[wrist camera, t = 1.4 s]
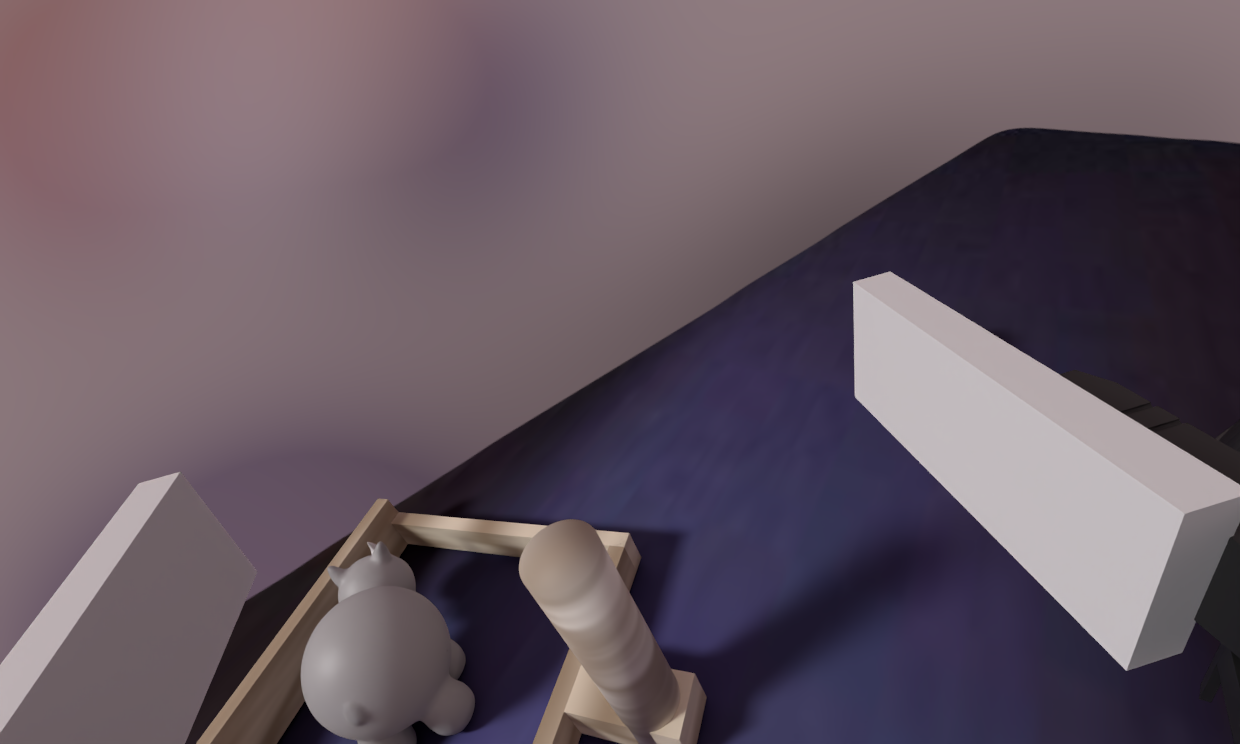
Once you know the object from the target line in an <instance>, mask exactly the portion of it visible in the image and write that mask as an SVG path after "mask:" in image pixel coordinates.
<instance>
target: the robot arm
mask: <svg viewBox="0 0 1240 744" xmlns="http://www.w3.org/2000/svg"><path fill="white" fill-rule="evenodd" d="M853 296H854V368H855V397H856V398H857V399H858V400H859V401H860V402H861V403H862V404H863V405H864V406H865V408H866V409H867V410H868V411H869V412H870V413H871V414H872V415H873V416H874V417H875V418H876V419H877V420H878V421H879V422H880V423H881V424H882V425H883V426H884V427H885V428H886V429H887V430H888V431H889V432H890V433H891V434H892V435H893V436H894V437H895V438H896V439H897V440H898V441H899V442H900V443H901V444H902V445H903V446H904V447H905V448H906V449H907V450H908V451H909V452H910V453H911V454H912V455H913V456H914V457H915V458H916V459H917V460H918V461H919V462H920V463H921V464H922V465H923V466H924V467H925V468H926V469H927V470H928V471H929V472H930V473H931V474H932V475H933V476H934V477H935V478H936V479H937V480H938V481H939V482H940V483H941V484H942V485H943V486H944V487H945V488H946V489H947V490H948V491H949V492H950V493H951V494H952V495H953V496H954V497H955V498H956V499H957V500H958V501H959V502H960V503H961V504H962V505H963V506H964V507H965V508H966V509H967V510H968V511H969V512H970V513H971V514H972V515H973V516H974V517H975V518H976V520H977V521H978V522H979V523H980V524H981V525H982V526H983V527H984V528H985V529H986V530H987V531H988V532H989V533H990V534H991V535H992V536H993V537H994V538H995V539H996V540H997V541H998V542H999V543H1000V544H1001V545H1002V546H1003V547H1004V548H1005V549H1006V550H1007V551H1008V552H1009V553H1010V554H1011V555H1012V556H1013V557H1014V558H1015V559H1016V560H1017V561H1018V562H1019V563H1020V564H1021V565H1022V566H1023V567H1024V568H1025V569H1026V570H1027V571H1028V572H1029V573H1030V574H1031V575H1032V576H1033V577H1034V578H1035V579H1036V580H1037V581H1038V582H1039V583H1040V584H1041V585H1042V586H1043V587H1044V588H1045V589H1046V590H1047V591H1048V592H1049V593H1050V594H1051V595H1052V596H1053V597H1054V598H1055V599H1056V600H1057V601H1058V602H1059V603H1060V604H1061V605H1062V606H1063V607H1064V608H1065V609H1066V610H1067V611H1068V612H1069V613H1070V614H1071V615H1072V616H1073V617H1074V618H1075V619H1076V620H1077V621H1078V622H1079V623H1080V624H1081V625H1082V626H1083V627H1084V628H1085V629H1086V631H1087V632H1088V633H1089V634H1090V635H1091V636H1092V637H1093V638H1094V639H1095V640H1096V641H1097V642H1098V643H1099V644H1100V645H1101V646H1102V647H1103V648H1104V649H1105V650H1106V651H1107V652H1108V653H1109V654H1110V655H1111V656H1112V657H1113V658H1114V659H1115V660H1116V661H1117V662H1118V663H1119V664H1120V665H1121V666H1122V667H1123V668H1124V669H1125V670H1126V671H1128V670H1131V669H1134V668H1137V667H1140V666H1143V665H1146V664H1149V663H1152V662H1155V661H1158V660H1161V659H1164V658H1167V657H1170V656H1173V655H1177V654H1180V653H1182V652H1183V650H1184V647H1185V645H1186V643H1187V641H1188V638H1189V636H1190V634H1191V632H1192V629H1193V627H1194V625H1195V622H1197V623H1198V624H1200V625H1201V626H1202V627H1203V628H1204V629H1205V630H1207V631H1208V632H1209V633H1210V634H1211V635H1213V636H1214V637H1215V638H1216V639H1217V640H1219V641H1220V642H1221V644H1220V646H1219V648H1218V650H1217V652H1216V654H1215V656H1214V658H1213V660H1212V662H1211V664H1210V666H1209V668H1208V670H1207V672H1206V674H1205V677H1204V679H1203V681H1202V683H1201V688H1200V696H1199V699H1201V700H1205V701H1208V702H1212V700H1213V698H1214V696H1215V694H1216V692H1217V690H1218V688H1219V686H1220V684H1221V685H1222V690H1223V694H1224V699H1225V704H1226V708H1227V713H1228V717H1229V722H1230V727H1231V731H1232V736H1233V740H1234V744H1240V420H1239V421H1238V422H1236V423H1235V424H1234V425H1233V426H1231V427H1230V428H1228V429H1227V430H1226V431H1224V432H1223V433H1221V434H1220V435H1219V436H1218V437H1216V438H1213V437H1211V436H1209V435H1207V434H1206V433H1204V432H1202V431H1200V430H1199V429H1197V428H1195V427H1193V426H1192V425H1190V424H1188V423H1185V424H1182V423H1181V422H1180V421H1179V418H1177V417H1176V416H1174V415H1172V414H1170V413H1169V412H1167V411H1165V410H1163V409H1162V408H1160V407H1158V406H1156V407H1152V406H1151V402H1149V401H1148V400H1146V399H1144V398H1142V397H1140V396H1139V395H1137V394H1135V393H1133V392H1132V391H1130V390H1128V389H1126V388H1125V387H1123V386H1121V385H1119V384H1118V383H1115V382H1112V381H1109V380H1106V379H1102V378H1099V377H1096V376H1093V375H1090V374H1086V373H1083V372H1080V371H1077V370H1073V371H1070V372H1066V373H1063V374H1057V373H1056V372H1054V371H1052V370H1051V369H1049V368H1048V367H1046V366H1044V365H1043V364H1041V363H1039V362H1038V361H1036V360H1034V359H1033V358H1031V357H1029V356H1028V355H1026V354H1025V353H1023V352H1021V351H1020V350H1018V349H1016V348H1015V347H1013V346H1011V345H1010V344H1008V343H1007V342H1005V341H1003V340H1002V339H1000V338H998V337H997V336H995V335H993V334H992V333H990V332H988V331H987V330H985V329H984V328H982V327H980V326H979V325H977V324H975V323H974V322H972V321H970V320H969V319H967V318H965V317H964V316H962V315H961V314H959V313H957V312H956V311H954V310H952V309H951V308H949V307H947V306H946V305H944V304H943V303H941V302H939V301H938V300H936V299H934V298H933V297H931V296H929V295H928V294H926V293H924V292H923V291H921V290H920V289H918V288H916V287H915V286H913V285H911V284H910V283H908V282H906V281H905V280H903V279H901V278H900V277H898V276H897V275H895V274H893V273H892V272H887V273H883V274H880V275H876V276H873V277H869V278H866V279H862V280H859V281H855V282H853ZM256 574H257V570H255V568H254V567H253V565H252V564H251V563H250V562H249V560H248V559H247V557H246V556H245V555H244V554H243V552H242V551H241V550H240V548H239V547H238V546H237V545H236V543H235V542H234V541H233V539H232V538H231V537H230V535H229V534H228V533H227V532H226V530H225V529H224V528H223V526H222V525H221V524H220V522H219V521H218V520H217V519H216V517H215V516H214V515H213V513H212V512H211V511H210V509H209V508H208V507H207V506H206V504H205V503H204V502H203V500H202V499H201V498H200V497H199V495H198V494H197V493H196V491H195V490H194V489H193V487H192V486H191V485H190V483H189V482H188V481H187V480H186V478H185V477H184V476H183V475H182V473H181V472H178V473H174V474H171V475H167V476H164V477H160V478H157V479H153V480H150V481H146V482H142V483H139V484H138V485H137V486H136V488H135V489H134V490H133V492H132V493H131V494H130V496H129V497H128V498H127V499H126V501H125V502H124V504H123V505H122V506H121V507H120V509H119V510H118V511H117V513H116V514H115V515H114V517H113V518H112V519H111V521H110V522H109V523H108V524H107V526H106V527H105V528H104V530H103V531H102V532H101V534H100V535H99V536H98V537H97V539H96V540H95V541H94V543H93V544H92V545H91V547H90V548H89V549H88V551H87V552H86V553H85V555H84V556H83V557H82V558H81V560H80V561H79V562H78V564H77V565H76V566H75V568H74V569H73V570H72V571H71V573H70V574H69V576H68V577H67V578H66V579H65V581H64V582H63V583H62V585H61V586H60V587H59V589H58V590H57V591H56V592H55V594H54V595H53V596H52V598H51V599H50V600H49V602H48V603H47V604H46V606H45V607H44V608H43V609H42V611H41V612H40V614H39V615H38V616H37V617H36V619H35V620H34V621H33V623H32V624H31V625H30V627H29V628H28V629H27V630H26V632H25V633H24V634H23V636H22V637H21V638H20V640H19V641H18V642H17V644H16V645H15V646H14V647H13V649H12V650H11V651H10V653H9V654H8V655H7V657H6V658H5V659H4V661H3V662H2V663H1V665H0V744H185V742H186V740H187V737H188V735H189V733H190V730H191V728H192V725H193V723H194V721H195V718H196V716H197V714H198V711H199V709H200V706H201V704H202V702H203V699H204V697H205V695H206V692H207V690H208V688H209V685H210V683H211V680H212V678H213V676H214V673H215V671H216V669H217V666H218V664H219V662H220V659H221V657H222V654H223V652H224V650H225V647H226V645H227V643H228V640H229V638H230V635H231V633H232V631H233V628H234V626H235V624H236V621H237V619H238V617H239V614H240V612H241V609H242V607H243V605H244V602H245V600H246V598H247V595H248V593H249V590H250V588H251V586H252V583H253V581H254V579H255V576H256Z"/></svg>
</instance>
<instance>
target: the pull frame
mask: <svg viewBox="0 0 1240 744" xmlns="http://www.w3.org/2000/svg"><path fill="white" fill-rule="evenodd" d="M380 541H381V542H383V543H384V544H385V545H386V547H387V548H388V550H389V552H390V554H392V555H394V556H396V557H398V558H399V557H400V555H401V554H402V552H403V551H404V549H405V548H406V546H407V545H408V544H413V545H422V546H430V547H439V548H447V549H455V550H464V551H472V552H480V553H489V554H497V555H506V556H514V557H521V558H520V562H519V574H520V578H521V580H522V582H523V583H524V585H525V586H526V588H527V589H528V590H529V592H530V593H531V595H532V596H533V597H534V599H535V600H536V602H537V603H538V604H539V606H540V607H541V609H542V610H543V611H544V613H545V614H546V616H547V617H548V618H549V620H550V621H551V623H552V624H553V625H554V627H555V628H556V630H557V631H558V632H559V634H560V635H561V637H562V638H563V640H564V641H565V642H566V644H567V645H568V647H569V651H568V654H567V656H566V659H565V661H564V664H563V666H562V669H561V672H560V674H559V677H558V679H557V682H556V685H555V687H554V690H553V692H552V695H551V697H550V700H549V703H548V705H547V708H546V710H545V713H544V716H543V718H542V721H541V723H540V726H539V728H538V731H537V734H536V736H535V739H534V741H533V744H578V742H579V740H580V737H581V734H586V735H590V736H594V737H597V738H601V739H605V740H609V741H613V742H617V743H621V744H697V740H698V736H699V731H700V726H701V722H702V717H703V712H704V708H705V703H706V698H707V697H706V695H705V693H704V691H703V689H702V687H701V685H700V683H699V681H698V679H697V677H696V675H695V673H690V672H685V671H680V670H675V669H671V668H670V666H669V664H668V662H667V661H666V659H665V657H664V655H663V653H662V651H661V649H660V648H659V646H658V644H657V642H656V640H655V638H654V637H653V635H652V633H651V631H650V629H649V627H648V626H647V624H646V622H645V620H644V618H643V616H642V615H641V613H640V611H639V609H638V607H637V605H636V604H635V602H634V600H633V598H632V596H631V594H630V593H629V592H630V589H631V586H632V583H633V580H634V577H635V574H636V571H637V568H638V565H639V562H640V560H641V556H640V554H639V552H638V550H637V548H636V546H635V544H634V542H633V540H632V538H631V536H630V534H629V533H622V532H611V531H600V530H595V529H594V528H593V527H592V526H591V525H589V524H588V523H586V522H584V521H581V520H575V519H569V520H562V521H558V522H555V523H553V524H551V525H549V526H544V525H533V524H522V523H511V522H500V521H489V520H478V519H467V518H455V517H444V516H433V515H422V514H411V513H400V512H398V511H397V510H396V509H395V508H394V506H393V505H392V504H391V503H390V502H389V500H387V499H377V501H376V502H375V503H374V505H373V506H372V507H371V509H370V510H369V512H368V513H367V514H366V515H365V517H364V518H363V520H362V521H361V522H360V523H359V525H358V526H357V528H356V529H355V530H354V532H353V533H352V534H351V536H350V537H349V538H348V540H347V541H346V542H345V544H344V545H343V546H342V548H341V549H340V550H339V552H338V553H337V554H336V556H335V557H334V559H333V560H332V561H331V563H330V564H329V565H328V567H329V566H336V567H339V568H342V569H347V568H349V567H350V566H351V565H352V564H354V563H355V562H356V561H358V560H359V559H361V558H364V557H366V556H369V555H372V554H371V550H370V547H369V545H368V543H367V542H371V543H374V544H376V545H377V544H378V542H380ZM328 567H327V568H328ZM327 568H326V569H325V571H324V572H323V573H322V575H321V576H320V577H319V579H318V580H317V581H316V583H315V584H314V585H313V587H312V588H311V590H310V591H309V592H308V594H307V595H306V596H305V598H304V599H303V600H302V602H301V603H300V604H299V606H298V607H297V608H296V610H295V611H294V612H293V614H292V615H291V616H290V618H289V619H288V621H287V622H286V623H285V625H284V626H283V627H282V629H281V630H280V631H279V633H278V634H277V635H276V637H275V638H274V639H273V641H272V642H271V643H270V645H269V646H268V647H267V649H266V650H265V652H264V653H263V654H262V656H261V657H260V658H259V660H258V661H257V662H256V664H255V665H254V666H253V668H252V669H251V670H250V672H249V673H248V674H247V676H246V677H245V678H244V680H243V681H242V683H241V684H240V685H239V687H238V688H237V689H236V691H235V692H234V693H233V695H232V696H231V697H230V699H229V700H228V701H227V703H226V704H225V705H224V707H223V708H222V709H221V711H220V712H219V714H218V715H217V716H216V718H215V719H214V720H213V722H212V723H211V724H210V726H209V727H208V728H207V730H206V731H205V732H204V734H203V735H202V736H201V738H200V739H199V740H198V742H197V743H196V744H277V743H278V741H279V740H280V738H281V737H282V735H283V734H284V732H285V730H286V729H287V727H288V726H289V724H290V723H291V721H292V720H293V718H294V717H295V715H296V714H297V712H298V711H299V709H300V708H301V706H302V705H303V703H304V702H305V699H304V695H303V692H302V686H301V664H302V659H303V655H304V651H305V648H306V645H307V643H308V641H309V638H310V636H311V634H312V633H313V631H314V629H315V628H316V626H317V625H318V623H319V622H320V621H321V619H322V618H323V617H324V616H325V615H326V614H327V613H328V612H329V611H330V610H331V609H332V608H333V607H334V606H335V605H337V604H338V603H339V602H338V590H339V588H338V586H337V585H336V584H335V583H334V582H333V581H332V579H331V578H330V576H329V573H328V571H327Z"/></svg>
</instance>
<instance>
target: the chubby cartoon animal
mask: <svg viewBox="0 0 1240 744" xmlns="http://www.w3.org/2000/svg"><path fill="white" fill-rule="evenodd" d="M367 543H368V545H369V547H370V550H371V554H372V555H369V556H366V557H364V558H361V559H359V560H358V561H356V562H355V563H354V564H352V565H351V566H350V567H349V568H347V569H342V568H339V567H336V566H329V567H328V568H327V571H328V573H329V576H330V578H331V579H332V581H333V582H334V583H335V584H336V585H337V586H338V588H339V590H338V602H339V603H338V604H337V605H335V606H334V607H333V608H332V609H331V610H330V611H329V612H328V613H327V614H326V615H325V616H324V617H323V618H322V619H321V621H320V622H319V623H318V625H317V626H316V628H315V629H314V631H313V633H312V634H311V636H310V638H309V641H308V643H307V645H306V648H305V651H304V655H303V659H302V664H301V686H302V692H303V695H304V699H305V701H306V704H307V706H308V708H309V710H310V712H311V713H312V715H313V716H314V717H315V719H316V720H317V721H318V722H319V723H320V724H321V725H322V726H323V727H325V728H326V729H327V730H329V731H331V732H332V733H334V734H336V735H338V736H341V737H344V738H347V739H351V740H357V742H358V744H417V736H416V733H415V730H414V728H413V727H412V724H413V723H415V722H417V721H422V722H424V723H425V724H426V725H427V726H428V727H429V728H430V729H431V730H433V731H434V732H436V733H437V734H440V735H444V736H449V735H454V734H457V733H459V732H461V731H462V730H463V729H464V728H465V727H466V726H467V724H468V723H469V721H470V719H471V717H472V715H473V712H474V707H475V698H474V694H473V692H472V691H471V689H470V688H469V687H468V686H467V685H466V684H464V683H463V682H460V681H458V680H457V679H458V678H459V677H460V675H461V673H462V671H463V669H464V666H465V661H466V659H465V654H464V652H463V650H462V648H461V647H460V646H459V645H458V644H457V643H456V642H455V641H453V640H452V639H450V635H449V631H448V628H447V625H446V623H445V621H444V618H443V617H442V615H441V613H440V612H439V611H438V609H437V608H436V607H435V606H434V605H433V604H432V603H431V602H430V601H429V600H428V599H427V598H425V597H424V596H422V595H420V594H419V593H417V592H415V591H416V583H415V577H414V574H413V572H412V570H411V568H410V567H409V565H408V564H407V563H406V562H405V561H404V560H402V559H400V558H398V557H396V556H394V555H392V554H390V552H389V550H388V548H387V547H386V545H385V544H384V543H383V542H381V541H380V542H378V544H377V545H376V544H374V543H371V542H367Z"/></svg>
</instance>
